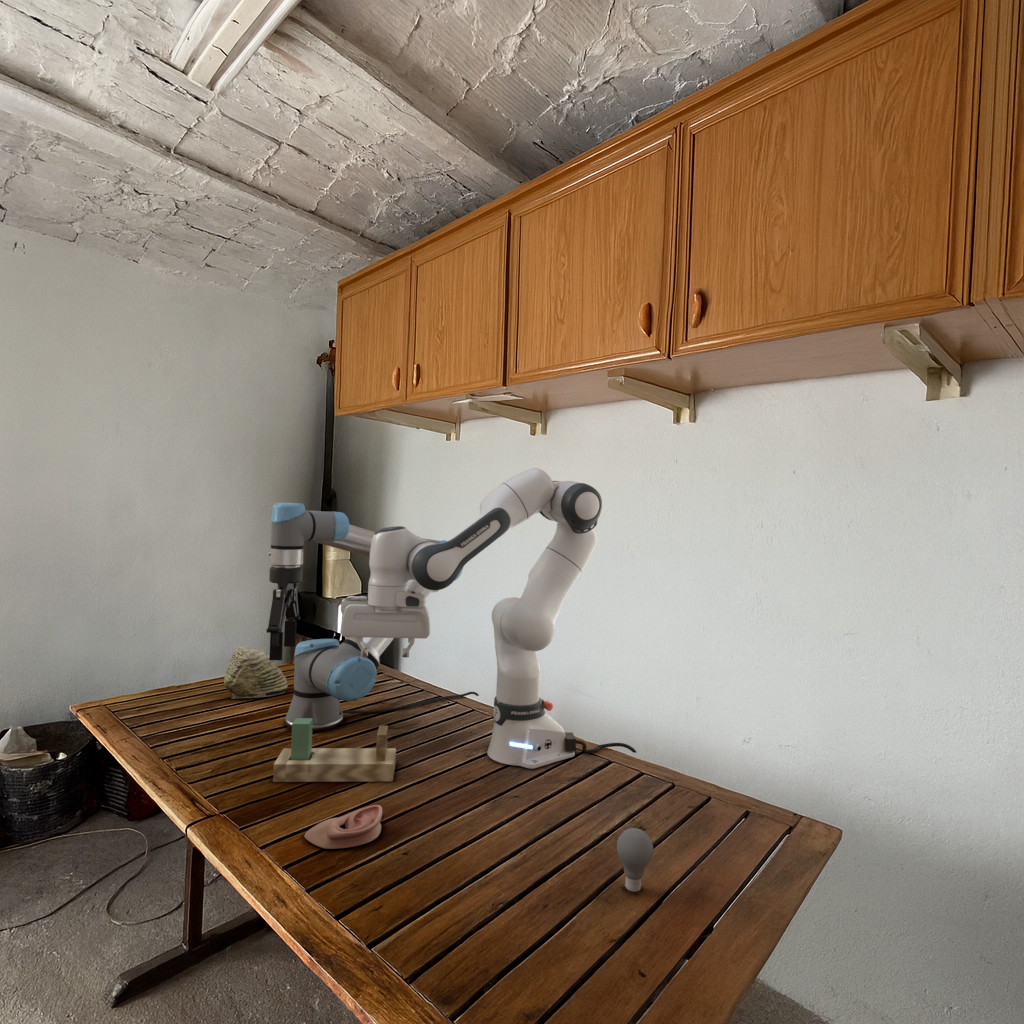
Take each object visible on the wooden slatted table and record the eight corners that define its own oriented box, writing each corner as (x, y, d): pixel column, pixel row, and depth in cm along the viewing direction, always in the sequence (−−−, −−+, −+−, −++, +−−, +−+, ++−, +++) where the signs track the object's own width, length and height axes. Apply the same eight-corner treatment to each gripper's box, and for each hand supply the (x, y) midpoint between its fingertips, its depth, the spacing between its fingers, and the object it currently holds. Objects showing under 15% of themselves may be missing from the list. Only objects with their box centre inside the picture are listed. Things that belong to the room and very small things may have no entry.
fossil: (219, 695, 195) (221, 647, 195) (279, 686, 207) (281, 640, 207) (229, 703, 188) (231, 653, 188) (290, 693, 201) (292, 646, 200)
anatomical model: (296, 822, 115) (327, 794, 126) (295, 844, 115) (326, 814, 126) (364, 833, 112) (389, 803, 124) (363, 855, 112) (388, 823, 124)
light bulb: (610, 878, 109) (613, 821, 108) (645, 878, 109) (647, 821, 109) (619, 901, 103) (622, 840, 103) (655, 900, 103) (658, 839, 103)
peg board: (272, 782, 140) (274, 737, 139) (283, 764, 148) (284, 722, 148) (392, 781, 142) (394, 737, 142) (395, 764, 151) (397, 723, 151)
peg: (293, 769, 146) (295, 718, 146) (310, 769, 147) (312, 718, 146) (290, 776, 142) (291, 723, 142) (307, 776, 143) (309, 724, 143)
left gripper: (283, 560, 166) (280, 640, 166) (255, 571, 141) (251, 666, 142) (312, 561, 167) (309, 641, 167) (289, 572, 142) (286, 666, 143)
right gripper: (339, 597, 141) (336, 659, 142) (431, 600, 144) (428, 660, 144) (343, 593, 148) (341, 652, 148) (431, 595, 150) (429, 653, 150)
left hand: (283, 652), depth 154 cm, fingers open, 13 cm apart
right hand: (385, 656), depth 146 cm, fingers open, 8 cm apart
